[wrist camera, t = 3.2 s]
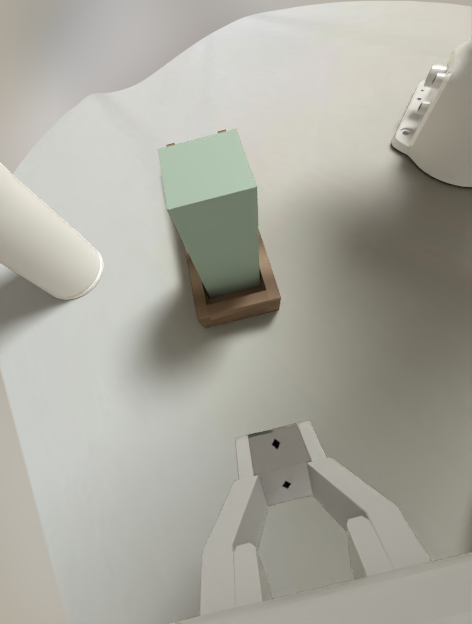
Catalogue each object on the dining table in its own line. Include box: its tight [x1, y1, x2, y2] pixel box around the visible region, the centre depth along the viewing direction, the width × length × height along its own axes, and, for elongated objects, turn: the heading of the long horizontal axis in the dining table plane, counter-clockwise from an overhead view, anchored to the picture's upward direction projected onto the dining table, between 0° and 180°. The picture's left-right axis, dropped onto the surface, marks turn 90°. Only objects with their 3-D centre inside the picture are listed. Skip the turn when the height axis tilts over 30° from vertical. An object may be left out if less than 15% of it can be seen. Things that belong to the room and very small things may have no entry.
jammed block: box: [158, 129, 260, 298], centre depth 24 cm, size 6×6×14 cm
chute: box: [167, 130, 281, 328], centre depth 33 cm, size 28×9×4 cm, turn 13°
